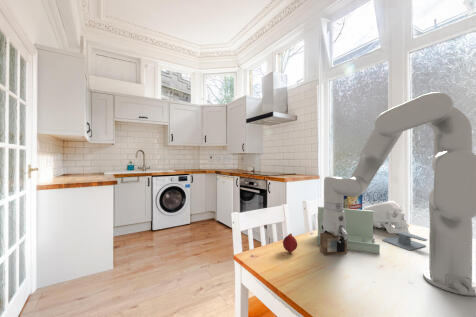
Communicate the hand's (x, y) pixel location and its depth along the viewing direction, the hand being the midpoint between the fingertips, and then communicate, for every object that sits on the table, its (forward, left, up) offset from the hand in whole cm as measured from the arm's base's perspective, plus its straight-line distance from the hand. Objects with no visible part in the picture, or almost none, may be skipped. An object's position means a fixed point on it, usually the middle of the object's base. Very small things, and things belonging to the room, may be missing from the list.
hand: (333, 246), depth 88 cm
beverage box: (+30, -10, -3) cm, 32 cm away
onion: (-7, +17, -3) cm, 18 cm away
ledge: (+12, -6, -2) cm, 14 cm away
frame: (0, 0, -3) cm, 3 cm away
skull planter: (+43, -30, -3) cm, 52 cm away
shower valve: (+22, -32, -3) cm, 39 cm away
